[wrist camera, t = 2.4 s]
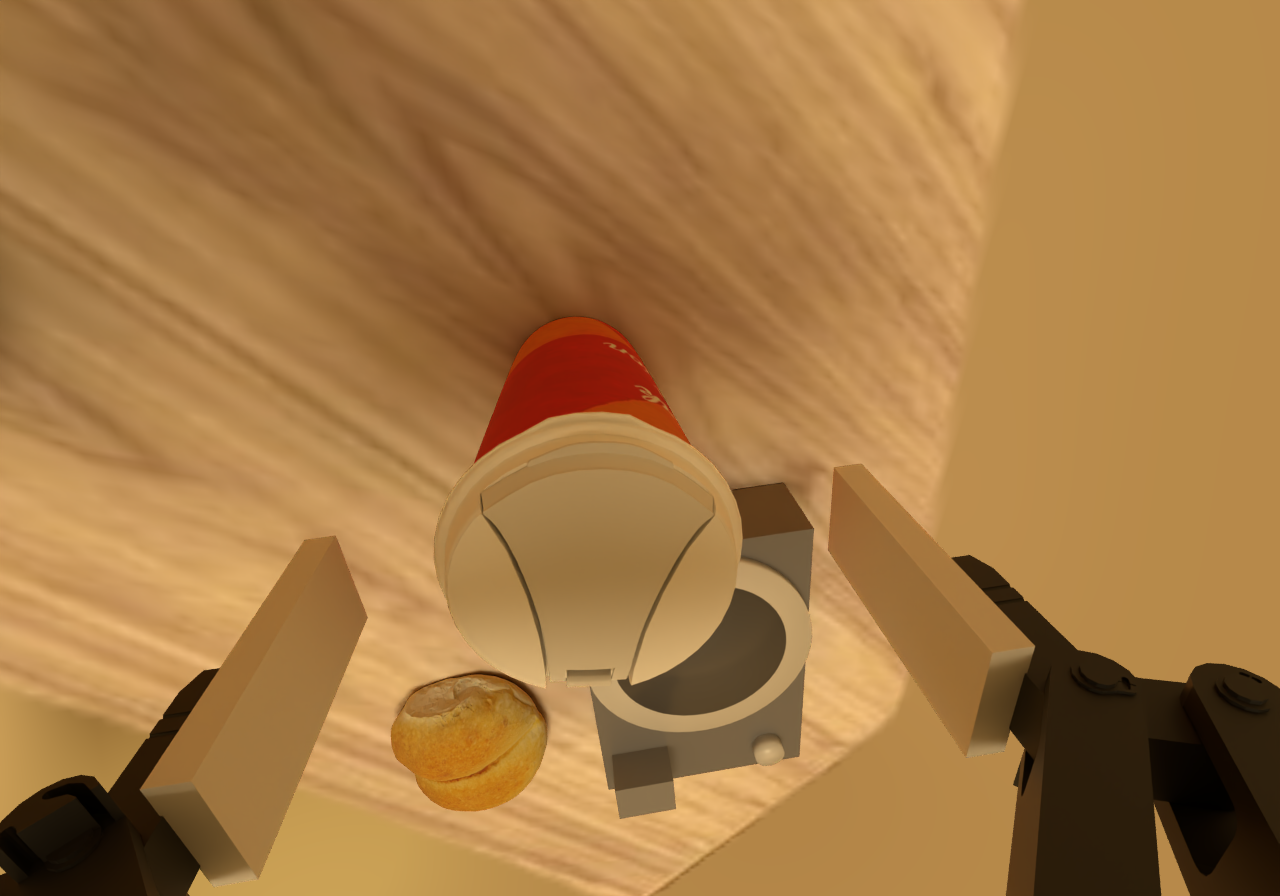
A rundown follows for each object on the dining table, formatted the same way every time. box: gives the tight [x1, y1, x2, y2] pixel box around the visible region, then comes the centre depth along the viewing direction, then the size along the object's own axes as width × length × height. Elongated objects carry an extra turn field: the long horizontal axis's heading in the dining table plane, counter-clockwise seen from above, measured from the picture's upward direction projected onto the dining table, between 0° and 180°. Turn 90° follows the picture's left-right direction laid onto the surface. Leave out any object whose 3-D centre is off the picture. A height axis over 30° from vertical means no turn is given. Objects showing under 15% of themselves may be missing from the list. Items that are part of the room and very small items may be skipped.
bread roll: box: [391, 674, 547, 811], centre depth 34 cm, size 8×9×4 cm
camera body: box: [590, 483, 814, 819], centre depth 31 cm, size 16×11×6 cm
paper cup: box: [434, 317, 743, 688], centre depth 20 cm, size 8×8×14 cm
